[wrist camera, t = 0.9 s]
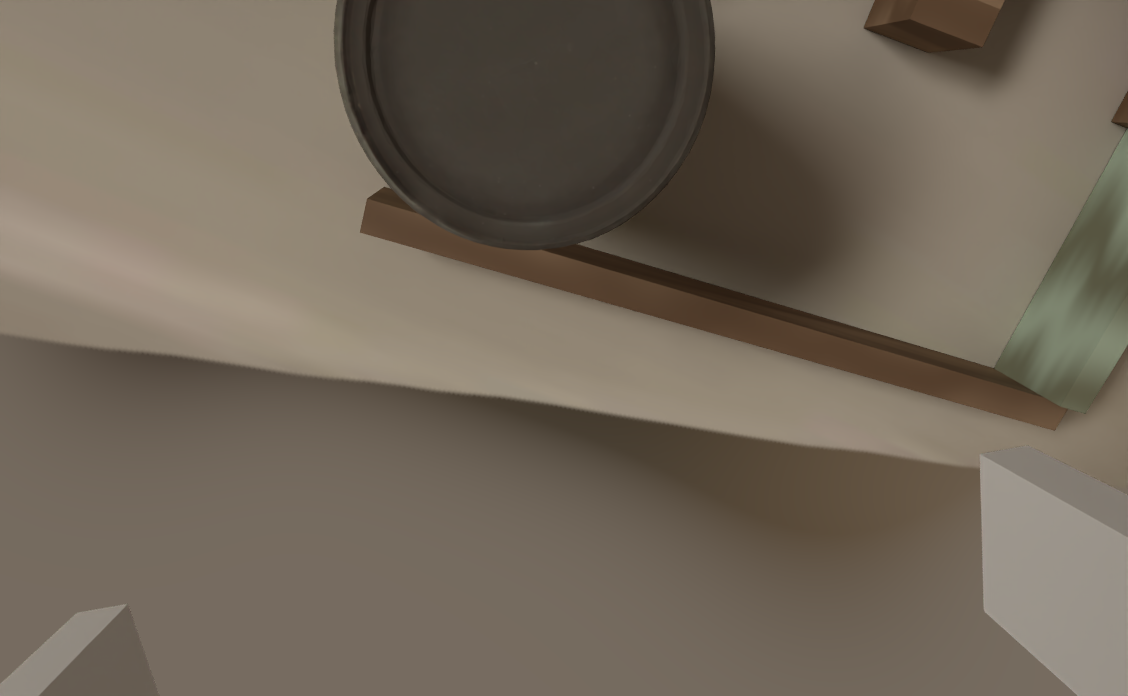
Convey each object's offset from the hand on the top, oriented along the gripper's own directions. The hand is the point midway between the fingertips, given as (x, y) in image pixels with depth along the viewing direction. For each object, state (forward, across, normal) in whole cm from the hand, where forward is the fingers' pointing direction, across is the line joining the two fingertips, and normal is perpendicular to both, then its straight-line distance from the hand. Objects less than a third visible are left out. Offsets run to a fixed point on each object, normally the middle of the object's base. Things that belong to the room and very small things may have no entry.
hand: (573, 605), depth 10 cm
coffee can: (+24, +1, +12) cm, 27 cm away
